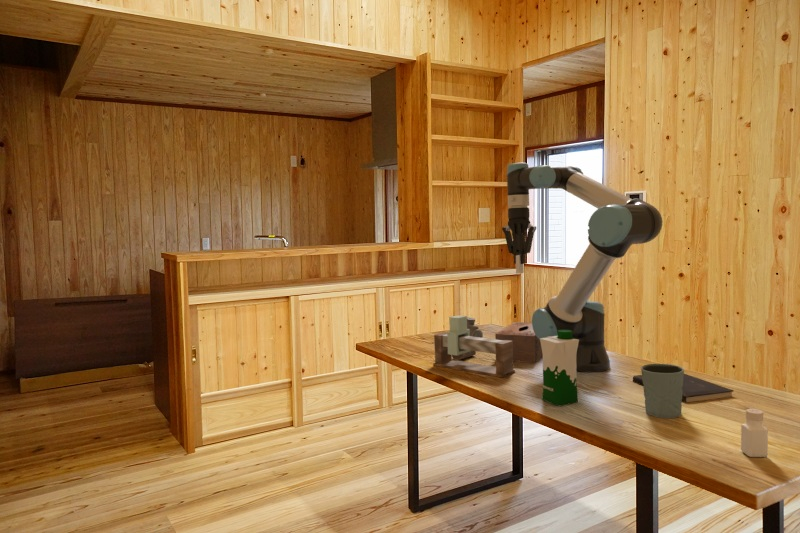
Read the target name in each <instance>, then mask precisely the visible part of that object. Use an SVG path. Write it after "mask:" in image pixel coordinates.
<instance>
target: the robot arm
mask: <svg viewBox="0 0 800 533" xmlns="http://www.w3.org/2000/svg"><path fill="white" fill-rule="evenodd" d="M506 167H507V169H506V170H507V171H506V186H507V188H506V189H507V191H506V192H507V207H509V208H507V218H508V221H507V225H506V226H502V228H501V229H502V232H503V233H504V237H505V241H506V247H507V251H508V253H509V254H511V255H513V264H515V273H516V274H517V275H518V274H524V272H525V268H524V265H525V264H526V256H527V255H528V254H530V253H531V250H532V246H533V240H534V236H535V232H536V230H537V226H534V225H532V224H531V221H530V190H537V189H539V190H540V189H557V190H558V189H562V190H563V191H566V192H567V193H569V194H572V195H573V196H575V197H576V198H579V199H580V200H582V201H583V202H585V203H587V204H589V205H591V206H593V207H594V208H596V210H595V211H594V212H593V213H592V214H591V216H590V218H589V220H588V223H587V227H588V229H587V233H588V234H587V235H588V237H587V240H588V243H589V245H588V246H587V248H586V250H584V253H583V254H582V256H581V257H580V259H579V260H578V261H577V263H576V265H575V267H574V269H573V270H572V272H571V273H570V275H569V277H568V279H567V280H566V282H565V283H564V285H563V287H562V288H561V290H560V291H559V293H558V294H557V295H555V296H552V297H551V298H549V299H548V302H547V303H546V305H545V307H540V308H537V309H536V310H535V311H534V312H533V313H532V316H531V323H532V326H533V330H534V333H535V335H536V336H537V338H538V339H539V340H540V338H547V337H552V336H558V330H572V337H573V338H576V339H578V340H579V343H578V348H577V353H576V370H577V372H585V373H588V372H589V373H595V372H603V371H608V370H609V369H610V368H611V360H610V358H609V354H608V352H607V350H606V346H605V310H604V308H605V307H604V304H603V303H601V302H599V301H593V300H589V299H590V297H591V296H592V295H593V293H594V292H595V291H596V289H597V287H598V286H599V284H600V283H601V281H602V280H603V278H604V277H605V275H606V273H607V272H608V271H609V269H610V268H611V266H612V264H613V263H614V262H615V260H617V259H621V258H623V257H624V256H625V254H627V252H628V250H629V249H630V247H631V246H632V245H640V244H646V243H649V242H651V241H653V240H654V239H656V238H657V237H658V236H659V235H660V233H661V230H662V229H663V228H662V227H663V217H662V214H661V212H660V211H659V210H658V208H656V207H655V206H654V205H652V204H651V203H648V202H647V201H644V200H642V199H640V198H638V197H637V198H633V199H632V198H630V197H629V196H627V195H624V194H623V193H621V192H619V191H617V190H615V189H612V188H611V187H608V185H607V186H606V185H605V184H602V183H601V182H599V181H597V180H595V179H593V178H591V177H589V176H587V175H585V174H584V172H583V171H582V169H581V168H579V167H577V166H570V165H569V166H551V165H547V164H544V165H540V164H539V165H537V166H531V167H529V164H528V163H526V162H516V163H510V164H508V165H507V166H506Z"/></svg>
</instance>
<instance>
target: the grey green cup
mask: <svg viewBox="0 0 800 533" xmlns="http://www.w3.org/2000/svg"><path fill="white" fill-rule="evenodd" d="M640 370H641V375H642V380H643V385H644V386H643V385H642V386H643V396H644V406H645V413H646V414H647V415H650V416H652V417H655V418H661V419H677V418H679V417H681V416H682V408H683V406H682V404H683V403H682V402H683V401H681V400H682V392H683V390H682V386H683V377H684V374H685V369H684V368H683V367H681V366H679V365H675V364H669V363H649V364H644V365H642V366H641V368H640Z"/></svg>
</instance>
